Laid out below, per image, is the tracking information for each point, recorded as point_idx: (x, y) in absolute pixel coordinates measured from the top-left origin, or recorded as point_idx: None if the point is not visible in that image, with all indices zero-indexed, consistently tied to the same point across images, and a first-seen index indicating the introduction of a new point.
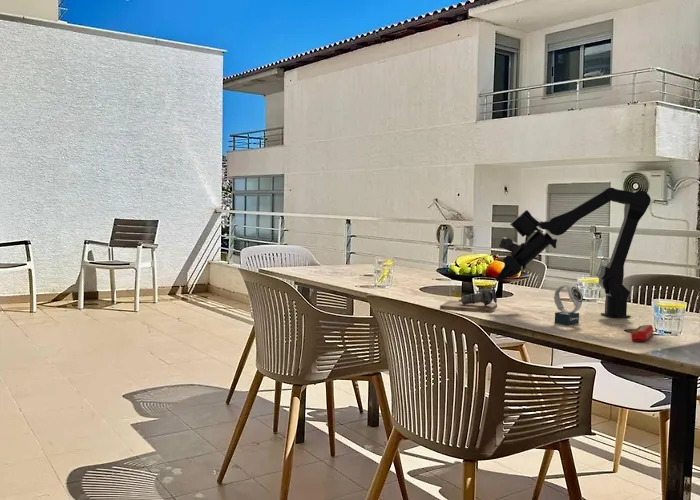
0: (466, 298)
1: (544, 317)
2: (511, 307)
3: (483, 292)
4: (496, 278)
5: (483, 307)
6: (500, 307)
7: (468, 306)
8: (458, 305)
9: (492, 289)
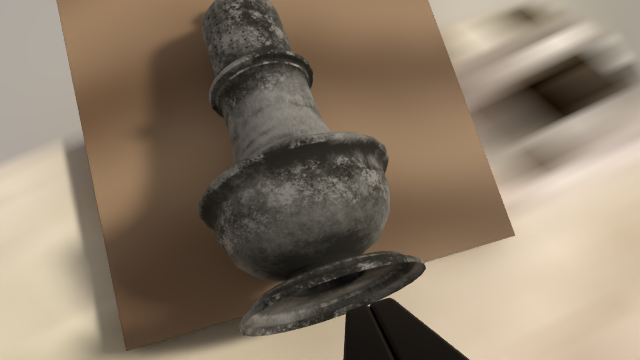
0: (208, 52)
1: None
2: (573, 351)
3: (223, 199)
4: (348, 331)
5: (196, 250)
6: (493, 276)
7: (160, 126)
8: (155, 41)
9: (290, 286)
